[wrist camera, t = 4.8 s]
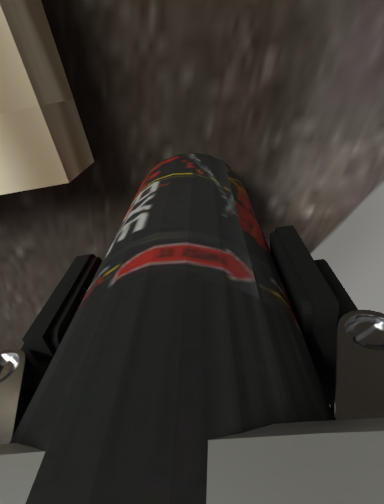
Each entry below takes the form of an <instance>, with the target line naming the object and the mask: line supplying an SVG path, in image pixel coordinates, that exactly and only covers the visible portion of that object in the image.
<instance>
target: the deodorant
mask: <svg viewBox="0 0 384 504" xmlns="http://www.w3.org/2000/svg"><path fill="white" fill-rule="evenodd" d="M329 420H335V419H334V416H333V413H332V410H331V408H330V405H329V403H328V400H327V397H326V395H325V392H324V390H323V387H322V385H321V382H320V379H319V377H318V374H317V372H316V369H315V366H314V364H313V361H312V359H311V356H310V353H309V351H308V348H307V346H306V343H305V341H304V338H303V335H302V333H301V330H300V328H299V325H298V322H297V320H296V317H295V315H294V312H293V309H292V307H291V304H290V302H289V299H288V297H287V294H286V291H285V289H284V286H283V284H282V281H281V278H280V276H279V273H278V271H277V268H276V265H275V263H274V260H273V258H272V255H271V253H270V250H269V247H268V245H267V242H266V240H265V237H264V234H263V232H262V229H261V227H260V224H259V222H258V219H257V216H256V214H255V211H254V209H253V206H252V203H251V201H250V198H249V196H248V193H247V190H246V188H245V185H244V183H243V182H242V180H241V179H240V177H239V176H238V174H237V173H236V172H235V171H234V170H233V169H232V168H231V167H229V166H228V165H227V164H226V163H225V162H223V161H221V160H219V159H216V158H214V157H212V156H210V155H204V154H197V153H189V154H181V155H176V156H174V157H171V158H169V159H166V160H164V161H162V162H161V163H160V164H158V165H157V166H156V167H154V168H153V169H152V170H151V171H150V172H149V174H148V175H147V176H146V178H145V179H144V181H143V182H142V184H141V186H140V188H139V190H138V192H137V194H136V196H135V198H134V200H133V202H132V204H131V206H130V208H129V210H128V211H127V213H126V215H125V217H124V219H123V221H122V223H121V225H120V227H119V229H118V231H117V233H116V235H115V237H114V239H113V241H112V243H111V245H110V247H109V249H108V251H107V253H106V255H105V257H104V259H103V261H102V262H101V264H100V266H99V268H98V270H97V272H96V274H95V276H94V278H93V280H92V282H91V284H90V286H89V288H88V290H87V292H86V294H85V296H84V298H83V300H82V302H81V304H80V306H79V308H78V310H77V312H76V313H75V315H74V317H73V319H72V321H71V323H70V325H69V327H68V329H67V331H66V333H65V335H64V337H63V339H62V341H61V343H60V345H59V347H58V349H57V351H56V353H55V355H54V357H53V359H52V361H51V363H50V364H49V366H48V368H47V370H46V372H45V374H44V376H43V378H42V380H41V382H40V384H39V386H38V388H37V390H36V392H35V394H34V396H33V398H32V400H31V402H30V404H29V406H28V408H27V410H26V412H25V414H24V415H23V417H22V419H21V421H20V423H19V425H18V427H17V429H16V431H15V433H14V435H13V437H12V439H11V441H10V443H18V444H21V445H26V446H30V447H34V448H37V449H40V450H43V451H46V452H45V454H44V457H43V459H42V462H41V465H40V467H39V470H38V472H37V475H36V478H35V480H34V483H33V485H32V488H31V491H30V493H29V496H28V498H27V501H26V504H206V495H207V460H208V440H211V439H216V438H220V437H225V436H230V435H235V434H240V433H244V432H247V431H250V430H254V429H257V428H261V427H265V426H268V425H272V424H280V423H294V422H309V421H329Z"/></svg>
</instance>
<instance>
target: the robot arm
mask: <svg viewBox="0 0 384 504" xmlns="http://www.w3.org/2000/svg"><path fill="white" fill-rule="evenodd" d="M270 251H271V255H272V258H273V260H274V263H275V265H276V268H277V271H278V273H279V276H280V278H281V281H282V284H283V286H284V289H285V291H286V294H287V297H288V299H289V302H290V304H291V307H292V309H293V312H294V315H295V317H296V320H297V322H298V325H299V328H300V330H301V333H302V335H303V338H304V341H305V343H306V346H307V348H308V351H309V353H310V356H311V359H312V361H313V364H314V366H315V369H316V372H317V374H318V377H319V379H320V382H321V385H322V387H323V390H324V392H325V395H326V397H327V400H328V403H329V404H330V408H331V410H332V413H333V416H334V419H335V420H329V421H309V422H294V423H280V424H272V425H268V426H265V427H261V428H257V429H254V430H250V431H247V432H244V433H240V434H235V435H230V436H225V437H220V438H216V439H211V440H208V460H207V495H206V504H384V314H382V313H379V312H375V311H370V310H358V309H357V307H356V306H355V304H354V303H353V301H352V300H351V298H350V297H349V295H348V294H347V292H346V291H345V289H344V288H343V286H342V285H341V283H340V282H339V280H338V279H337V277H336V275H335V274H334V272H333V271H332V269H331V268H330V267H329V265H328V263H327V262H326V261H325V260H323V259H321V260H313V258H312V257H311V255H310V253H309V252H308V250H307V248H306V247H305V245H304V243H303V242H302V240H301V238H300V236H299V235H298V233H297V231H296V230H295V228H294V227H293V226H286V227H279V228H276V229H275V232H273V233H270ZM101 262H102V260H101V259H100V258H99V257H96V256H95V255H94V254H90V255H83V256H77V257H76V258H75V260H74V261H73V263H72V264H71V266H70V267H69V269H68V271H67V272H66V274H65V275H64V277H63V278H62V280H61V281H60V283H59V284H58V286H57V287H56V289H55V290H54V292H53V293H52V295H51V296H50V298H49V299H48V301H47V303H46V304H45V306H44V307H43V309H42V310H41V312H40V313H39V315H38V316H37V318H36V319H35V321H34V322H33V324H32V325H31V327H30V328H29V330H28V331H27V333H26V334H25V336H24V338H23V339H22V340H23V341H24V343H25V344H24V345H23V347H22V348H21V350H20V349H17V348H14V349H7V350H3V351H1V352H0V504H26V501H27V498H28V496H29V493H30V491H31V488H32V485H33V483H34V480H35V478H36V475H37V472H38V470H39V467H40V465H41V462H42V459H43V457H44V454H45V452H46V451H43V450H40V449H37V448H34V447H30V446H26V445H21V444H18V443H10V441H11V439H12V437H13V435H14V433H15V431H16V429H17V427H18V425H19V423H20V421H21V419H22V417H23V415H24V414H25V412H26V410H27V408H28V406H29V404H30V402H31V400H32V398H33V396H34V394H35V392H36V390H37V388H38V386H39V384H40V382H41V380H42V378H43V376H44V374H45V372H46V370H47V368H48V366H49V364H50V363H51V361H52V359H53V357H54V355H55V353H56V351H57V349H58V347H59V345H60V343H61V341H62V339H63V337H64V335H65V333H66V331H67V329H68V327H69V325H70V323H71V321H72V319H73V317H74V315H75V313H76V312H77V310H78V308H79V306H80V304H81V302H82V300H83V298H84V296H85V294H86V292H87V290H88V288H89V286H90V284H91V282H92V280H93V278H94V276H95V274H96V272H97V270H98V268H99V266H100V264H101Z"/></svg>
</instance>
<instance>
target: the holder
mask: <svg viewBox="0 0 384 504" xmlns="http://www.w3.org/2000/svg"><path fill="white" fill-rule="evenodd" d="M93 162H94V159H93V156H92V153H91V150H90V147H89V144H88V141H87V138H86V135H85V132H84V129H83V126H82V123H81V120H80V117H79V114H78V110H77V107H76V104H75V101H74V98H73V95H72V92H71V89H70V86H69V83H68V80H67V77H66V74H65V71H64V68H63V65H62V62H61V59H60V56H59V53H58V50H57V47H56V44H55V41H54V38H53V35H52V32H51V29H50V26H49V23H48V20H47V17H46V14H45V11H44V8H43V5H42V2H41V0H0V195H4V194H9V193H15V192H21V191H26V190H32V189H38V188H43V187H49V186H54V185H60V184H66V183H70V182H71V181H72V180H73V179H74V178H76V177H77V176H78V175H79V174H80V173H82V172H83V171H84V170H85V169H86V168H87V167H89V166H90V165H91V164H92V163H93Z"/></svg>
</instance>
